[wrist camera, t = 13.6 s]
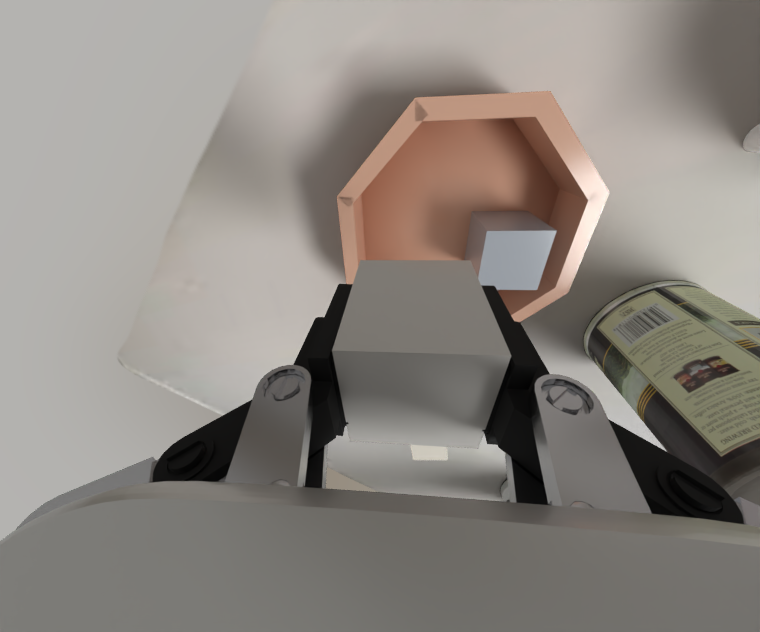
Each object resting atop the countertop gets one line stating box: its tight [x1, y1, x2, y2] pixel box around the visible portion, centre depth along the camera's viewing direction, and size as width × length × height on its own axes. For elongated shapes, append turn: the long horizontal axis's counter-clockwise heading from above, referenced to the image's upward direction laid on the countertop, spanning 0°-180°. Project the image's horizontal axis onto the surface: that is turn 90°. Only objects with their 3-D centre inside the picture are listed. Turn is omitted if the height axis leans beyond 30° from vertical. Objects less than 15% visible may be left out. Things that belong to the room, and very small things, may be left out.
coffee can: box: [584, 281, 760, 506], centre depth 20 cm, size 10×10×14 cm
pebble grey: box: [332, 260, 511, 449], centre depth 9 cm, size 4×4×5 cm
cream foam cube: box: [410, 445, 448, 460], centre depth 33 cm, size 4×4×5 cm
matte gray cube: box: [464, 211, 557, 290], centre depth 19 cm, size 4×4×5 cm
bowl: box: [337, 91, 609, 322], centre depth 20 cm, size 16×16×4 cm
